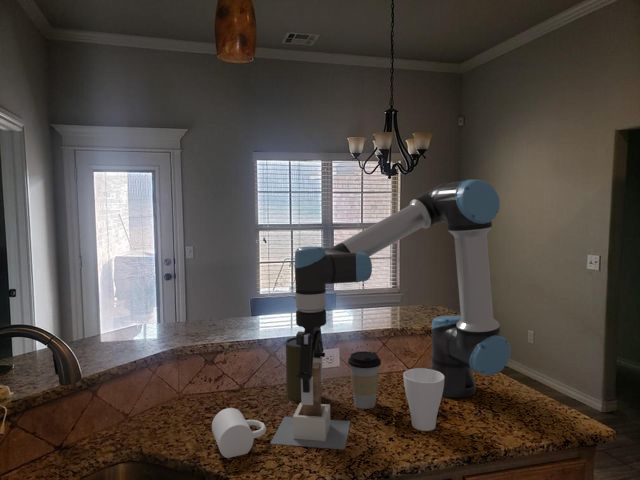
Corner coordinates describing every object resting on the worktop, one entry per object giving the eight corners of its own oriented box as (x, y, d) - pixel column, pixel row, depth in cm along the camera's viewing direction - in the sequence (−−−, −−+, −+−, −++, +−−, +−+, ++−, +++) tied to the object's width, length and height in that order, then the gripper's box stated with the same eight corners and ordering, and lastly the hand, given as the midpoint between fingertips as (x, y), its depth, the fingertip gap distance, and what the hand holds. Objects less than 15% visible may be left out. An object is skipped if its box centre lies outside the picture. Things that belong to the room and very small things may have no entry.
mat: (350, 424, 115) (350, 421, 115) (344, 452, 101) (344, 449, 101) (284, 419, 118) (284, 416, 118) (270, 446, 104) (270, 443, 104)
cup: (394, 423, 115) (394, 373, 115) (422, 412, 121) (422, 365, 120) (424, 440, 107) (425, 386, 106) (453, 428, 112) (453, 376, 112)
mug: (219, 463, 98) (218, 429, 97) (211, 442, 107) (211, 410, 106) (270, 451, 102) (270, 418, 102) (259, 432, 112) (258, 402, 111)
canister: (316, 406, 126) (315, 338, 125) (281, 403, 128) (280, 336, 127) (323, 391, 137) (322, 328, 136) (291, 388, 139) (290, 327, 138)
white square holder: (330, 425, 113) (330, 404, 113) (325, 441, 105) (325, 418, 105) (300, 423, 114) (299, 402, 114) (293, 438, 106) (292, 416, 106)
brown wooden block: (321, 424, 111) (320, 362, 110) (318, 431, 107) (317, 368, 106) (305, 423, 112) (305, 362, 111) (302, 430, 108) (301, 367, 107)
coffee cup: (365, 417, 119) (365, 363, 118) (341, 406, 126) (341, 355, 125) (387, 407, 125) (387, 355, 124) (363, 397, 132) (363, 348, 131)
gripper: (306, 298, 121) (307, 373, 122) (283, 321, 96) (286, 414, 98) (332, 299, 120) (334, 374, 121) (317, 321, 95) (318, 416, 96)
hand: (312, 392), depth 109 cm, fingers open, 13 cm apart
